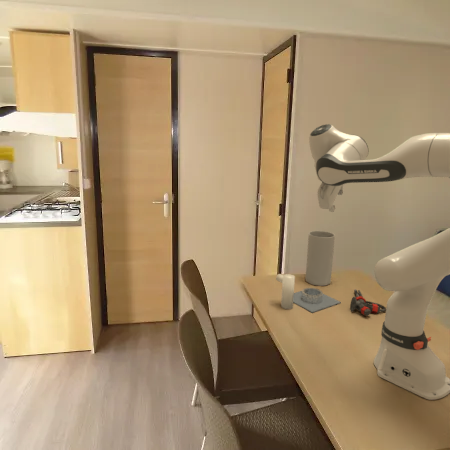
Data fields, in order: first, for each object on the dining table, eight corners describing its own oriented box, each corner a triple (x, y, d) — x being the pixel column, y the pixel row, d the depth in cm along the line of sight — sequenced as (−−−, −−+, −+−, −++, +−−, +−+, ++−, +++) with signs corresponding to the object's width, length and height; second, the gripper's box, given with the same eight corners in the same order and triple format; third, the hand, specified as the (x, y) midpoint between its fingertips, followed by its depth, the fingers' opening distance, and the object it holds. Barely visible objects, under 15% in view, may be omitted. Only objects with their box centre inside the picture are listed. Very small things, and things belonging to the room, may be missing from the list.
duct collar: (326, 300, 164) (326, 293, 163) (311, 305, 159) (312, 297, 159) (311, 293, 171) (311, 286, 171) (297, 297, 167) (297, 290, 166)
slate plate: (340, 303, 163) (341, 302, 163) (312, 313, 153) (312, 311, 153) (311, 289, 178) (311, 288, 178) (283, 297, 168) (283, 296, 168)
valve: (389, 326, 148) (351, 317, 150) (376, 301, 173) (343, 294, 176) (393, 311, 147) (355, 302, 149) (379, 289, 172) (347, 281, 174)
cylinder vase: (335, 284, 183) (340, 236, 177) (313, 287, 179) (317, 238, 173) (321, 275, 195) (325, 230, 189) (300, 278, 191) (304, 231, 185)
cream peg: (295, 307, 158) (297, 277, 155) (286, 310, 155) (288, 279, 152) (281, 300, 165) (283, 270, 162) (273, 302, 162) (274, 273, 159)
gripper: (328, 189, 117) (336, 221, 125) (347, 153, 128) (353, 185, 136) (310, 189, 120) (318, 220, 128) (330, 154, 132) (336, 184, 140)
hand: (336, 201), depth 132 cm, fingers open, 8 cm apart
